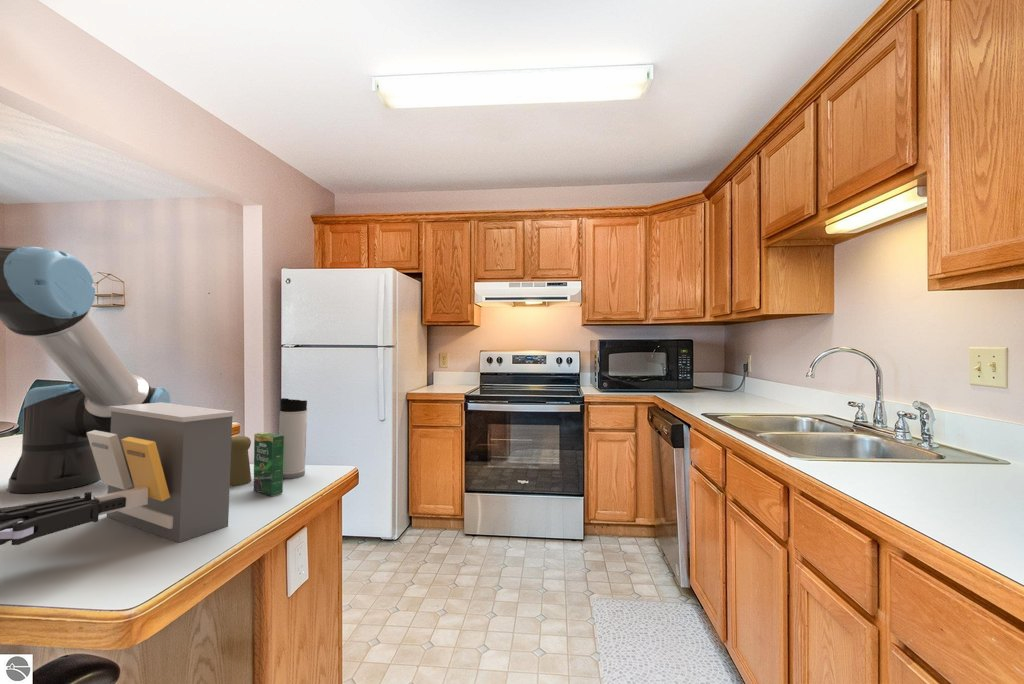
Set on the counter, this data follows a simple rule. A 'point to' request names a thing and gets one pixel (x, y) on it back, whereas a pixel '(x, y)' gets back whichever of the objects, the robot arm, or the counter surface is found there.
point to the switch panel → (180, 467)
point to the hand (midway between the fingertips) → (145, 495)
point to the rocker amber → (146, 467)
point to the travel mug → (293, 436)
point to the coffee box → (268, 463)
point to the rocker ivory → (109, 459)
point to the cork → (240, 461)
